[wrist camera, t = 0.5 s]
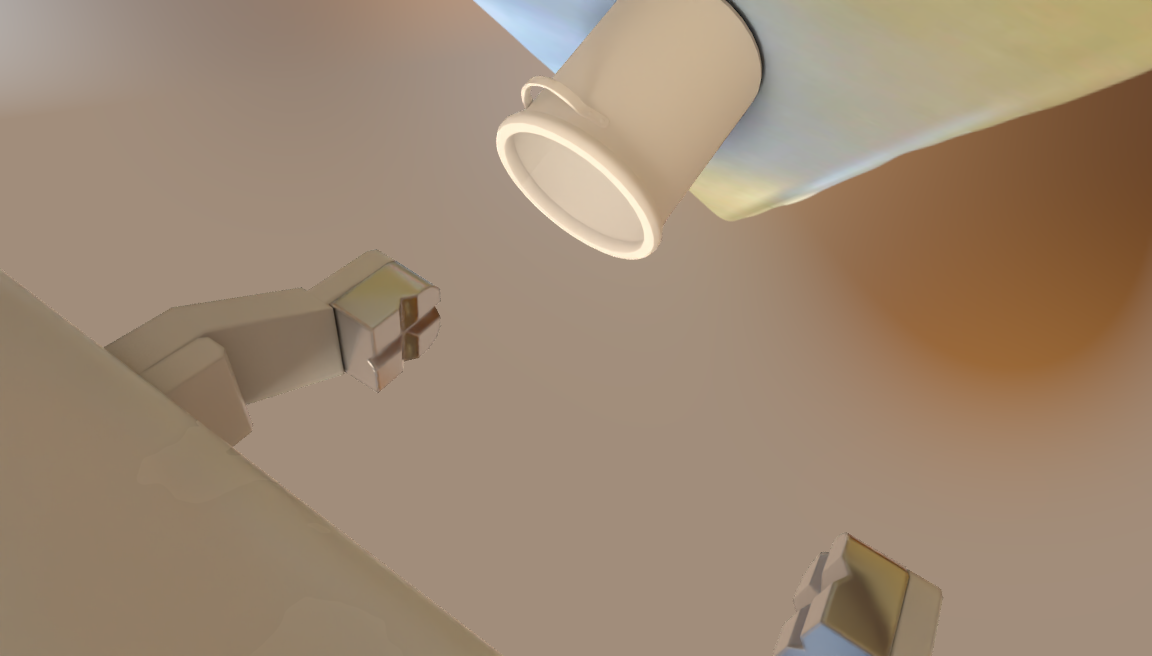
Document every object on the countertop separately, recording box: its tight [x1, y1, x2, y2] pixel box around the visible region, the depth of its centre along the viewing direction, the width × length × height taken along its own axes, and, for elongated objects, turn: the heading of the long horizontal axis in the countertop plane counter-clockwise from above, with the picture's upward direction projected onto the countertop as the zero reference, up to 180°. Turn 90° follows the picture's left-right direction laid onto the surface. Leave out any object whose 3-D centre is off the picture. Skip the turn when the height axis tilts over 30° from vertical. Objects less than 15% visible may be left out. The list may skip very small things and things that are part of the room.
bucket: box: [496, 0, 762, 259], centre depth 76 cm, size 26×22×25 cm
